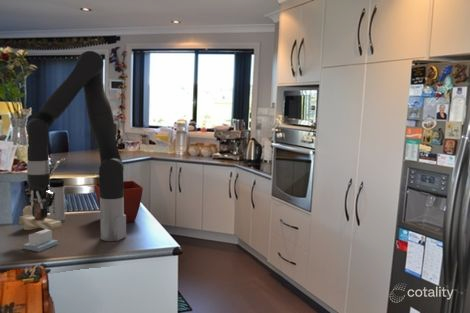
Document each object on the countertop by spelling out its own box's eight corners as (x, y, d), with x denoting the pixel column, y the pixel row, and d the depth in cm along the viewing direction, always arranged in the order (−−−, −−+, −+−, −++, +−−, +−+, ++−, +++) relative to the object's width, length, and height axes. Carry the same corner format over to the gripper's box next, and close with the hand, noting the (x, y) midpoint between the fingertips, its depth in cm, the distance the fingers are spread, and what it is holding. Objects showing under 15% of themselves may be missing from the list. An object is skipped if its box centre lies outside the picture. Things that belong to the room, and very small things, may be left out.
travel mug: (60, 218, 189) (59, 177, 187) (67, 221, 185) (66, 179, 183) (47, 221, 184) (46, 179, 182) (54, 224, 180) (53, 180, 178)
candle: (36, 229, 171) (35, 207, 170) (22, 230, 170) (21, 207, 169) (38, 226, 177) (38, 204, 175) (25, 226, 175) (24, 204, 174)
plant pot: (101, 227, 177) (100, 190, 175) (94, 217, 194) (93, 183, 192) (143, 222, 186) (143, 187, 184) (133, 213, 203) (133, 180, 201)
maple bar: (61, 227, 148) (60, 204, 147) (52, 230, 145) (51, 206, 144) (28, 220, 156) (27, 198, 155) (19, 223, 152) (18, 200, 151)
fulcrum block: (58, 244, 154) (57, 230, 153) (38, 251, 146) (38, 237, 145) (42, 241, 157) (42, 227, 156) (23, 248, 148) (22, 234, 148)
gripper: (60, 172, 149) (61, 217, 151) (33, 169, 154) (34, 212, 156) (44, 175, 142) (45, 222, 144) (16, 171, 147) (17, 217, 149)
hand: (39, 216), depth 150 cm, fingers closed on maple bar, 3 cm apart
